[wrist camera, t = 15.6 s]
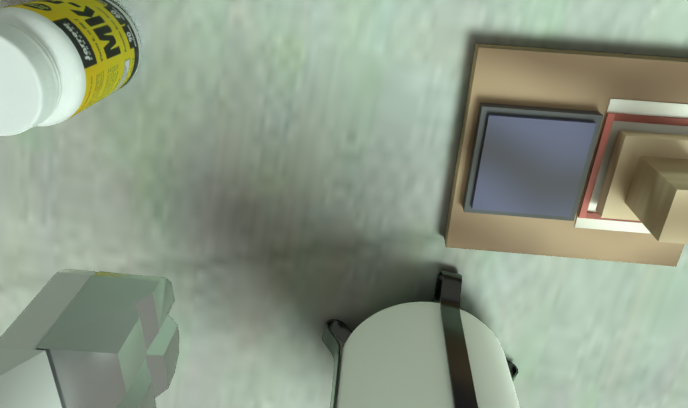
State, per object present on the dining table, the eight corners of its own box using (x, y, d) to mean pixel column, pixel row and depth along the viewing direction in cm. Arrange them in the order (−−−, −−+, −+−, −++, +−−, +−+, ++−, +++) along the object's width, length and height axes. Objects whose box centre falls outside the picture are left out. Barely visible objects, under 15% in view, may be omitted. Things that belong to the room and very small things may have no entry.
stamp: (616, 126, 32) (661, 167, 27) (706, 133, 32) (771, 175, 27) (592, 206, 35) (630, 257, 29) (677, 213, 34) (730, 266, 29)
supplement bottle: (162, 37, 33) (76, 80, 24) (114, 107, 35) (20, 171, 26) (76, -32, 32) (-50, -14, 22) (32, 46, 34) (-99, 91, 25)
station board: (475, 43, 32) (481, 51, 30) (741, 62, 31) (766, 71, 29) (444, 237, 38) (447, 255, 36) (667, 256, 37) (684, 275, 35)
